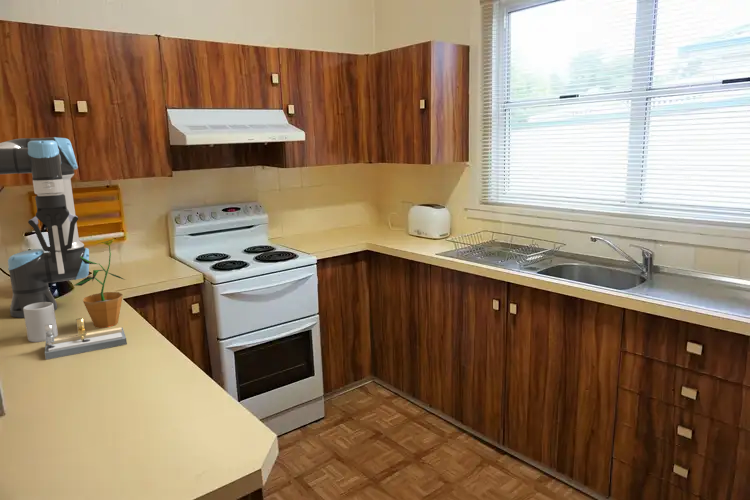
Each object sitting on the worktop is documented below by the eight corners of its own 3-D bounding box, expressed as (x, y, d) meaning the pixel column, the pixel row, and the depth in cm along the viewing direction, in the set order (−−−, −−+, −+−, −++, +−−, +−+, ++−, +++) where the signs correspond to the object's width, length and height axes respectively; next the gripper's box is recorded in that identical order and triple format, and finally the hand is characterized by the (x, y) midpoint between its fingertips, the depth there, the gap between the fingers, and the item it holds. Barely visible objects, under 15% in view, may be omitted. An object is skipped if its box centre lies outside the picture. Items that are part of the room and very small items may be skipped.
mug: (56, 339, 175) (51, 307, 173) (25, 344, 172) (20, 311, 170) (61, 328, 186) (56, 297, 184) (32, 332, 183) (27, 301, 180)
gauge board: (46, 346, 169) (45, 337, 169) (123, 332, 180) (122, 324, 179) (45, 359, 159) (44, 350, 158) (126, 344, 169) (125, 335, 169)
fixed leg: (47, 339, 167) (44, 323, 166) (54, 338, 168) (52, 322, 167) (46, 347, 161) (44, 331, 160) (54, 345, 162) (51, 329, 161)
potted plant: (122, 312, 201) (112, 233, 195) (141, 324, 188) (132, 239, 182) (69, 324, 189) (57, 241, 183) (86, 337, 176) (74, 248, 170)
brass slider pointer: (78, 333, 171) (76, 317, 170) (85, 332, 172) (83, 316, 171) (79, 341, 165) (76, 324, 164) (86, 339, 166) (84, 323, 165)
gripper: (22, 197, 150) (35, 278, 155) (75, 193, 157) (86, 272, 162) (24, 194, 157) (36, 273, 162) (75, 191, 163) (85, 267, 168)
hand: (61, 272), depth 162 cm, fingers closed
